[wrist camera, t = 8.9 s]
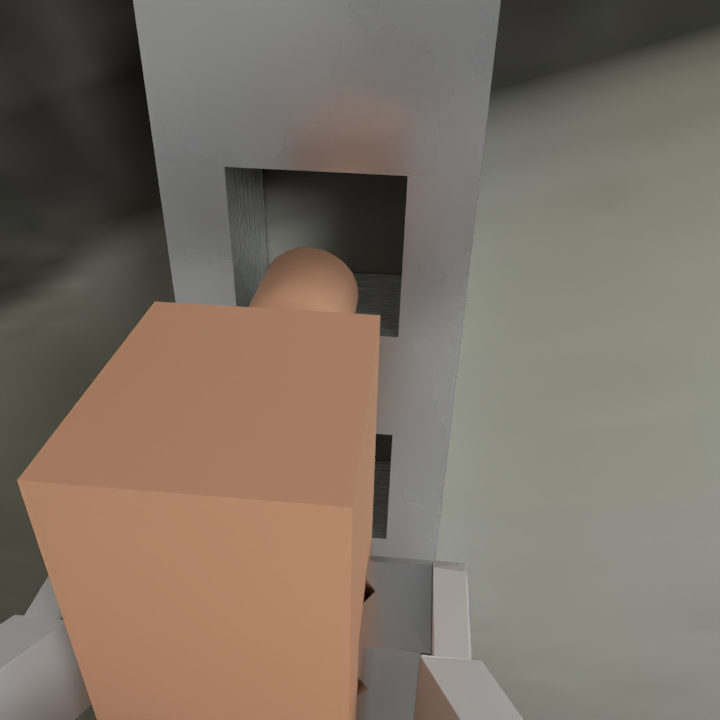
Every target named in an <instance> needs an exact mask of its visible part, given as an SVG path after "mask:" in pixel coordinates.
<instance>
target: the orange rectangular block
mask: <svg viewBox="0 0 720 720" xmlns="http://www.w3.org/2000/svg"><path fill="white" fill-rule="evenodd" d="M357 303H358V287H357V283H356V280H355V277H354V275H353V273H352V272H351V270H350V269H349V268H348V266H347V265H346V264H345V263H344V262H343V261H342V260H340V259H339V258H338V257H336V256H335V255H333V254H331V253H329V252H327V251H324V250H321V249H316V248H297V249H293V250H290V251H287V252H285V253H283V254H282V255H280V256H279V257H277V258H276V259H275V260H274V261H273V262H272V263H271V264H270V266H269V267H268V269H267V271H266V273H265V275H264V277H263V279H262V281H261V283H260V285H259V287H258V289H257V291H256V293H255V295H254V297H253V299H252V301H251V303H250V305H249V307H237V306H221V305H204V304H188V303H172V302H154V303H153V304H152V306H151V307H150V308H149V310H148V311H147V312H146V314H145V315H144V316H143V317H142V319H141V320H140V321H139V323H138V324H137V325H136V326H135V328H134V329H133V330H132V332H131V333H130V334H129V336H128V337H127V338H126V339H125V341H124V342H123V343H122V345H121V346H120V347H119V349H118V350H117V351H116V352H115V354H114V355H113V356H112V358H111V359H110V360H109V362H108V363H107V364H106V365H105V367H104V368H103V369H102V371H101V372H100V373H99V375H98V376H97V377H96V378H95V380H94V381H93V382H92V384H91V385H90V386H89V387H88V389H87V390H86V391H85V393H84V394H83V395H82V397H81V398H80V399H79V400H78V402H77V403H76V404H75V406H74V407H73V408H72V410H71V411H70V412H69V413H68V415H67V416H66V417H65V419H64V420H63V421H62V423H61V424H60V425H59V426H58V428H57V429H56V430H55V432H54V433H53V434H52V435H51V437H50V438H49V439H48V441H47V442H46V443H45V445H44V446H43V447H42V448H41V450H40V451H39V452H38V454H37V455H36V456H35V458H34V459H33V460H32V461H31V463H30V464H29V465H28V467H27V468H26V469H25V471H24V472H23V473H22V474H21V476H20V477H19V478H18V480H17V482H18V485H19V488H20V491H21V494H22V497H23V500H24V503H25V506H26V509H27V512H28V515H29V518H30V521H31V524H32V527H33V530H34V533H35V536H36V539H37V542H38V545H39V548H40V551H41V554H42V557H43V560H44V563H45V566H46V569H47V572H48V575H49V578H50V581H51V584H52V587H53V590H54V593H55V596H56V599H57V602H58V605H59V608H60V611H61V614H62V617H63V620H64V623H65V626H66V629H67V632H68V635H69V638H70V641H71V644H72V647H73V650H74V653H75V656H76V659H77V662H78V665H79V668H80V671H81V674H82V677H83V680H84V683H85V686H86V689H87V692H88V695H89V698H90V701H91V704H92V707H93V710H94V713H95V716H96V719H97V720H356V714H357V691H358V681H359V679H358V678H357V676H358V645H359V635H360V626H361V617H362V608H363V603H364V602H365V586H366V571H367V562H368V557H369V556H371V548H372V522H373V496H374V470H375V444H376V419H377V393H378V367H379V341H380V315H369V314H355V313H356V308H357Z"/></svg>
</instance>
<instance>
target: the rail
mask: <svg viewBox="0 0 720 720" xmlns="http://www.w3.org/2000/svg"><path fill="white" fill-rule="evenodd" d="M500 3H501V0H133V5H134V12H135V19H136V26H137V33H138V40H139V47H140V54H141V61H142V68H143V75H144V83H145V90H146V97H147V104H148V111H149V118H150V125H151V132H152V139H153V146H154V153H155V160H156V168H157V175H158V182H159V189H160V196H161V203H162V210H163V217H164V224H165V231H166V238H167V245H168V253H169V260H170V267H171V274H172V281H173V288H174V295H175V302H176V303H188V304H204V305H221V306H237V307H249V305H250V303H251V301H252V299H253V297H254V295H255V293H256V291H257V289H258V287H259V285H260V283H261V281H262V279H263V277H264V275H265V273H266V271H267V269H268V258H267V240H266V223H265V205H264V188H263V170H262V169H279V170H299V171H319V172H338V173H358V174H378V175H398V176H408V180H407V197H406V214H405V231H404V248H403V265H402V276H400V275H384V274H367V273H353V275H354V277H355V280H356V283H357V287H358V303H357V308H356V313H355V314H369V315H380V341H379V367H378V393H377V419H376V434H386V435H392V452H391V462H387V461H375V470H374V496H373V522H372V548H371V556H380V557H393V558H407V559H420V560H431V562H432V561H435V559H436V550H437V541H438V533H439V524H440V516H441V507H442V499H443V490H444V482H445V473H446V465H447V456H448V447H449V439H450V430H451V422H452V413H453V405H454V396H455V388H456V379H457V371H458V362H459V353H460V345H461V336H462V328H463V319H464V311H465V302H466V294H467V285H468V277H469V268H470V259H471V251H472V242H473V234H474V225H475V217H476V208H477V200H478V191H479V182H480V174H481V165H482V157H483V148H484V140H485V131H486V123H487V114H488V106H489V97H490V88H491V80H492V71H493V63H494V54H495V46H496V37H497V29H498V20H499V12H500Z"/></svg>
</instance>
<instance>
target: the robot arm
mask: <svg viewBox="0 0 720 720" xmlns="http://www.w3.org/2000/svg"><path fill="white" fill-rule="evenodd" d="M357 678H358V679H359V681H358V691H357V714H356V720H523V718H522V717H521V716H520V714H519V713H518V711H517V710H516V708H515V707H514V706H513V704H512V703H511V701H510V700H509V699H508V697H507V696H506V694H505V693H504V692H503V690H502V689H501V687H500V686H499V684H498V683H497V682H496V680H495V679H494V677H493V676H492V675H491V673H490V672H489V670H488V669H487V668H486V666H485V665H484V663H483V662H482V661H480V660H472V659H471V638H470V618H469V597H468V577H467V568H466V566H465V564H463V563H451V562H439V561H432V562H431V560H420V559H407V558H393V557H380V556H369V557H368V562H367V571H366V586H365V602H364V603H363V608H362V617H361V626H360V635H359V645H358V676H357ZM90 705H91V701H90V698H89V695H88V692H87V689H86V686H85V683H84V680H83V677H82V674H81V671H80V668H79V665H78V662H77V659H76V656H75V653H74V650H73V647H72V644H71V641H70V638H69V635H68V632H67V629H66V626H65V623H64V620H63V617H62V614H61V611H60V608H59V605H58V602H57V599H56V596H55V593H54V590H53V587H52V584H51V581H50V578H49V575H48V577H47V578H46V580H45V582H44V583H43V585H42V587H41V588H40V590H39V591H38V593H37V595H36V596H35V598H34V600H33V601H32V603H31V604H30V606H29V608H28V609H27V611H26V613H25V614H24V615H13V616H12V617H10V618H9V619H7V620H6V621H4V622H3V623H1V624H0V720H76V719H77V718H78V717H79V716H80V715H81V714H82V713H83V712H84V711H85V710H86V709H87V708H88V707H89V706H90Z"/></svg>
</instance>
